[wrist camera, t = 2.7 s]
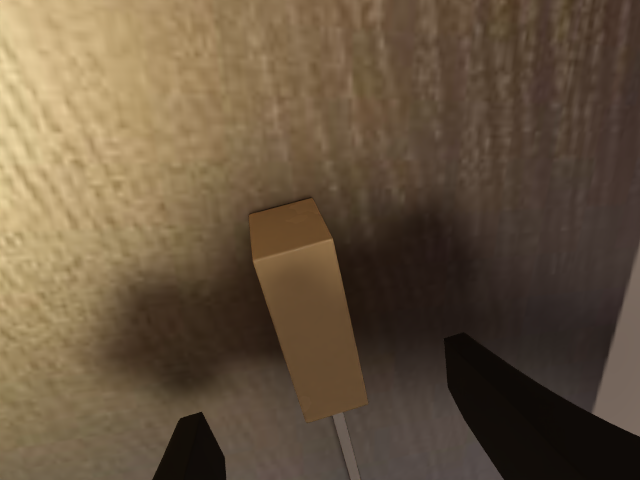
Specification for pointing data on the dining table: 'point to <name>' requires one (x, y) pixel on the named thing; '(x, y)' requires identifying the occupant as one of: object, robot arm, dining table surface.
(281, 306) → the knife
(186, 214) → the dining table surface
